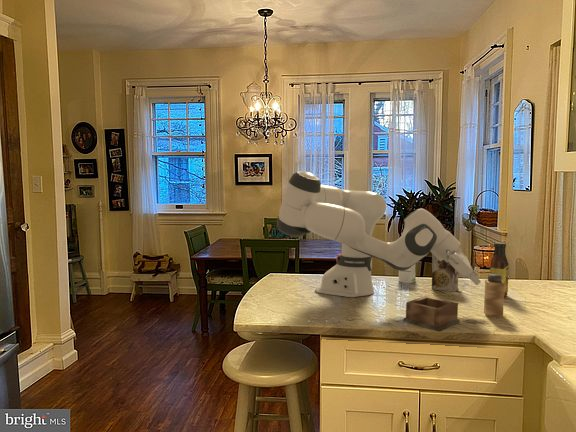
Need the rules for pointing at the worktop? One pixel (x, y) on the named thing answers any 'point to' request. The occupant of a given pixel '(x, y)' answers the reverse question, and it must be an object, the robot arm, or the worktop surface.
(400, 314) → the worktop surface
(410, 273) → the syrup box
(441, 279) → the coffee box
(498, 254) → the sauce bottle
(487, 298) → the cylinder
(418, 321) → the socket
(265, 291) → the worktop surface
